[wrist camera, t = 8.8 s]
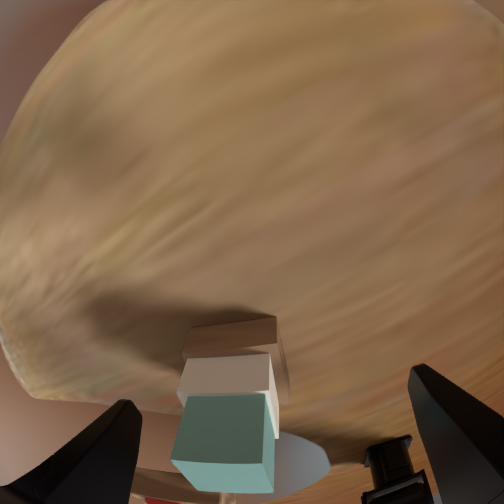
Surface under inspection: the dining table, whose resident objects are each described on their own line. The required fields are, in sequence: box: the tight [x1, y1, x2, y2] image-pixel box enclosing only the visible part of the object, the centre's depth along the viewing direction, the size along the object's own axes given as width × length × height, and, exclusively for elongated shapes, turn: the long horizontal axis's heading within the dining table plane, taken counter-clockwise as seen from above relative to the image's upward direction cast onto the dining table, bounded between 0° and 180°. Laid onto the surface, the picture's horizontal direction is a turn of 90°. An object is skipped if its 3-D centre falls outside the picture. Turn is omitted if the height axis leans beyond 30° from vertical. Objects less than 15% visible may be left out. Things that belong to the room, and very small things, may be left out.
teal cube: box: [170, 394, 275, 493], centre depth 15 cm, size 5×5×5 cm
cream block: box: [176, 353, 279, 439], centre depth 19 cm, size 6×6×4 cm
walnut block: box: [181, 317, 290, 406], centre depth 22 cm, size 7×7×4 cm
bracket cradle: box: [130, 468, 238, 504], centre depth 33 cm, size 9×16×6 cm, turn 102°
